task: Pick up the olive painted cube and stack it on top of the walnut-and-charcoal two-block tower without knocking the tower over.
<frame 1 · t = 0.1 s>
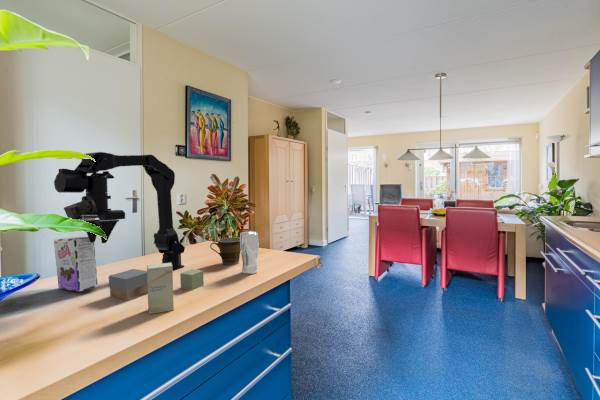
hand: (98, 242, 97), 16 cm above the kitchen island, tool pointing down, fingers open, 5 cm apart
charcoal block: (130, 284, 95), point 3 cm above the kitchen island, touching walnut block
candy box: (78, 288, 100), on the kitchen island, touching gripper
olive cube: (192, 286, 102), on the kitchen island
skincare box: (161, 310, 84), on the kitchen island
walnut block: (131, 296, 95), on the kitchen island, touching charcoal block
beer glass: (250, 272, 117), on the kitchen island
ceramic cup: (227, 264, 129), on the kitchen island
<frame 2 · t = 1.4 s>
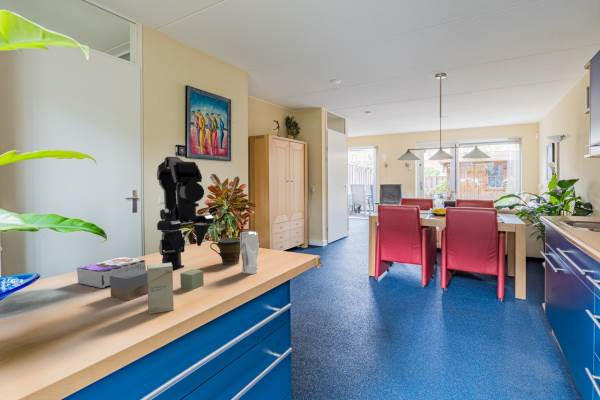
hand: (188, 248, 101), 13 cm above the kitchen island, tool pointing down, fingers open, 9 cm apart
candy box: (88, 278, 103), point 3 cm above the kitchen island
everything else where it was.
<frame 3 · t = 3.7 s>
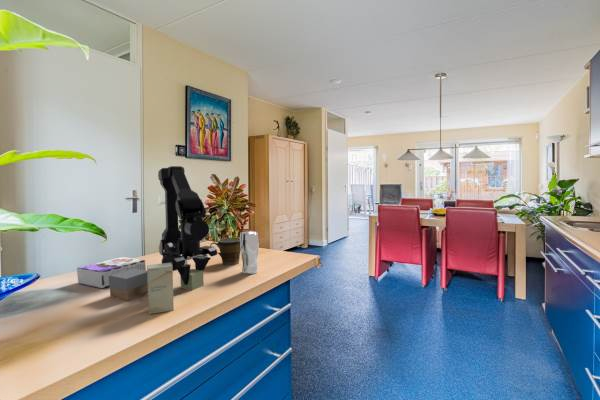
hand: (192, 282, 101), 2 cm above the kitchen island, tool pointing down, fingers closed on olive cube, 5 cm apart
olive cube: (192, 286, 102), on the kitchen island, touching gripper
everything else where it was.
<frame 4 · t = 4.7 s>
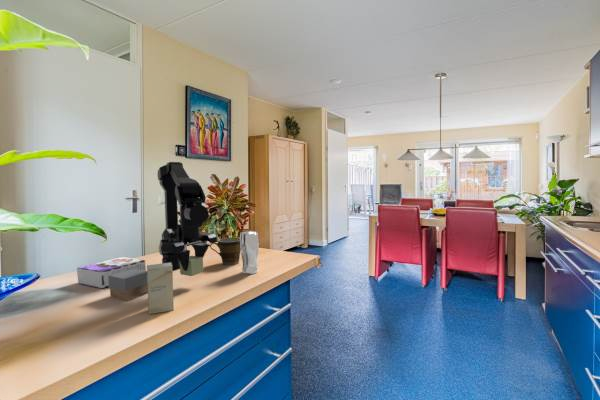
hand: (191, 268, 101), 6 cm above the kitchen island, tool pointing down, fingers closed on olive cube, 5 cm apart
olive cube: (191, 273, 101), point 5 cm above the kitchen island, touching gripper
everything else where it was.
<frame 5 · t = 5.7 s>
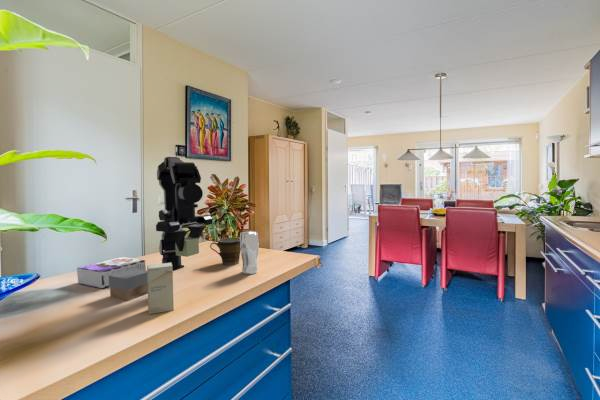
hand: (187, 249, 100), 12 cm above the kitchen island, tool pointing down, fingers closed on olive cube, 5 cm apart
olive cube: (187, 254, 100), point 11 cm above the kitchen island, touching gripper
everything else where it was.
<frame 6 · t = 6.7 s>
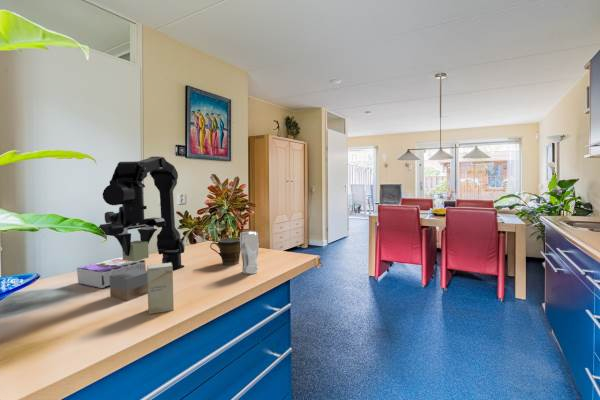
hand: (135, 253, 95), 13 cm above the kitchen island, tool pointing down, fingers closed on olive cube, 5 cm apart
olive cube: (135, 258, 95), point 11 cm above the kitchen island, touching gripper
everything else where it was.
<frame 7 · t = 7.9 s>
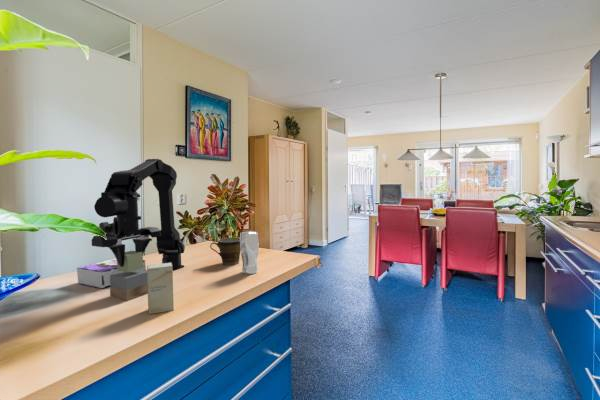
hand: (130, 264, 95), 9 cm above the kitchen island, tool pointing down, fingers closed on olive cube, 5 cm apart
olive cube: (130, 269, 95), point 8 cm above the kitchen island, touching gripper
everything else where it was.
when the fingers open (9 cm above the kitchen island, at t = 8.4 s): olive cube drops 1 cm, resting on charcoal block.
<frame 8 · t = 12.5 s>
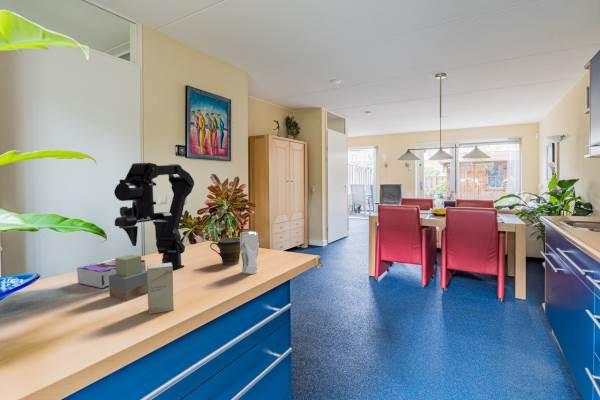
hand: (146, 243, 109), 13 cm above the kitchen island, tool pointing down, fingers open, 9 cm apart
charcoal block: (130, 284, 95), point 3 cm above the kitchen island, touching olive cube, walnut block
olive cube: (129, 273, 95), point 7 cm above the kitchen island, touching charcoal block
everything else where it was.
at the end: olive cube 0.2 cm off-centre on the walnut block, point 7.0 cm above the walnut block's base; olive cube tilted 0°; charcoal block 0.1 cm off-centre on the walnut block, point 3.5 cm above the walnut block's base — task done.
